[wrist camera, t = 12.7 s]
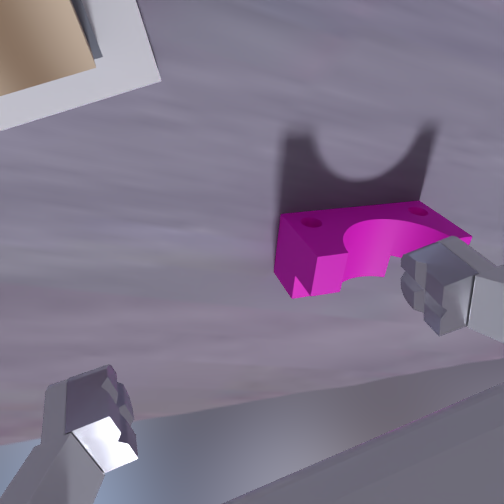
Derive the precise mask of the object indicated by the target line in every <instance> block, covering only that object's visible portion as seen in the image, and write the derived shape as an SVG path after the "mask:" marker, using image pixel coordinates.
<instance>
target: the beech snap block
mask: <svg viewBox="0 0 504 504" xmlns="http://www.w3.org/2000/svg"><path fill="white" fill-rule="evenodd" d="M94 68H96V65H95V61H94V58H93V54H92V51H91V48H90V46H89V43H88V41H87V38H86V36H85V33H84V31H83V28H82V26H81V23H80V21H79V18H78V15H77V13H76V10H75V8H74V5H73V3H72V0H0V96H3V95H6V94H10V93H13V92H16V91H20V90H23V89H26V88H30V87H33V86H36V85H40V84H43V83H47V82H50V81H53V80H57V79H60V78H63V77H67V76H70V75H73V74H77V73H80V72H83V71H87V70H90V69H94Z"/></svg>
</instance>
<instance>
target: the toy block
mask: <svg viewBox="0 0 504 504" xmlns="http://www.w3.org/2000/svg"><path fill="white" fill-rule="evenodd" d="M450 236H456V237H458V238H459V239H461V240H462V241H463V242H465V243H466V244H468V245H469V244H470V241H471V239H472V236H471V235H470V234H468V233H467V232H465V231H464V230H462V229H461V228H459V227H458V226H456V225H455V224H453V223H452V222H450V221H449V220H447V219H446V218H444V217H443V216H441V215H440V214H438V213H437V212H435V211H434V210H432V209H431V208H429V207H428V206H426V205H425V204H423V203H422V202H420V201H410V202H400V203H389V204H379V205H368V206H358V207H347V208H337V209H327V210H316V211H306V212H295V213H285V214H281V216H280V225H279V233H278V241H277V249H276V258H275V266H274V273H275V275H276V276H277V278H278V279H279V281H280V282H281V284H282V285H283V286H284V288H285V289H286V291H287V292H288V294H289V295H290V297H291V298H292V299H293V298H299V297H306V296H316V295H322V294H328V293H334V292H340V289H341V284H342V282H343V281H346V280H348V279H351V278H355V277H361V276H380V277H384V276H385V272H386V269H387V265H388V262H389V258H390V255H391V256H396V257H401V258H402V256H403V254H406V253H408V252H411V251H414V250H416V249H419V248H422V247H424V246H427V245H429V244H432V243H435V242H437V241H440V240H442V239H445V238H447V237H450Z"/></svg>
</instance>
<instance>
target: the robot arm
mask: <svg viewBox="0 0 504 504" xmlns="http://www.w3.org/2000/svg"><path fill="white" fill-rule="evenodd" d="M401 267H402V268H403V269H404V270H405V272H404V274H403V276H402V277H401V289H402V292H403V295H404V298H405V299H406V301H407V302H408V304H409V305H410V306H411V307H412V308H413V309H414V310H417V311H420V312H423V313H424V321H425V322H426V323H427V324H428V325H429V326H430V327H431V328H432V329H433V331H434V332H435V333H436V334H437V335H438V336H442V335H445V334H447V333H450V332H453V331H455V330H458V329H461V328H463V327H466V326H468V327H467V328H470V329H472V330H474V331H477V332H479V333H481V334H483V335H486V336H488V337H490V338H493V339H495V340H497V341H499V342H502V343H504V265H501V266H498V267H497V266H496V265H495V264H493V263H492V262H491V261H489V260H488V259H486V258H485V257H484V256H482V255H481V254H480V253H478V252H477V251H476V250H474V249H473V248H472V247H470V246H469V245H468V244H466V243H465V242H463V241H462V240H461V239H459V238H458V237H456V236H450V237H447V238H445V239H442V240H440V241H437V242H435V243H432V244H429V245H427V246H424V247H422V248H419V249H416V250H414V251H411V252H408V253H406V254H403V256H402V258H401ZM133 420H134V415H133V408H132V405H131V401H130V397H129V395H128V393H127V390H126V389H125V387H124V385H123V384H121V383H118V382H117V375H116V372H115V370H114V369H113V367H112V366H111V365H105V366H102V367H99V368H96V369H94V370H91V371H88V372H85V373H82V374H79V375H76V376H73V377H70V378H69V379H66V380H63V381H60V382H57V383H54V384H51V385H49V386H48V388H47V390H46V392H45V402H44V413H43V424H42V435H41V444H40V445H38V446H35V447H34V448H33V450H32V451H31V453H30V454H29V456H28V457H27V459H26V460H25V462H24V463H23V465H22V466H21V468H20V469H19V471H18V472H17V474H16V475H15V477H14V478H13V480H12V481H11V483H10V484H9V486H8V487H7V489H6V490H5V492H4V493H3V495H2V496H1V498H0V504H93V503H94V500H95V498H96V496H97V493H98V491H99V488H100V486H101V484H102V481H103V479H104V476H105V475H104V473H106V472H108V471H111V470H113V469H115V468H117V467H120V466H122V465H125V464H127V463H129V462H131V461H134V460H136V459H138V453H137V443H136V434H135V433H134V431H133V430H132V428H131V424H132V422H133ZM223 504H504V382H503V383H500V384H498V385H496V386H494V387H491V388H489V389H486V390H484V391H482V392H479V393H478V394H475V395H473V396H470V397H468V398H466V399H463V400H461V401H459V402H457V403H454V404H452V405H449V406H447V407H445V408H443V409H440V410H438V411H436V412H433V413H431V414H429V415H426V416H424V417H422V418H419V419H417V420H415V421H412V422H410V423H408V424H405V425H403V426H401V427H399V428H396V429H394V430H392V431H389V432H387V433H385V434H383V435H380V436H378V437H375V438H373V439H371V440H369V441H366V442H364V443H362V444H360V445H357V446H355V447H352V448H350V449H348V450H345V451H343V452H341V453H338V454H336V455H334V456H332V457H329V458H327V459H325V460H322V461H320V462H318V463H315V464H313V465H311V466H308V467H306V468H304V469H301V470H299V471H297V472H294V473H292V474H290V475H287V476H285V477H283V478H280V479H278V480H276V481H274V482H271V483H269V484H267V485H264V486H262V487H260V488H257V489H255V490H253V491H250V492H248V493H246V494H243V495H241V496H239V497H236V498H234V499H232V500H230V501H227V502H225V503H223Z"/></svg>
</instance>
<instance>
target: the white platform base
mask: <svg viewBox="0 0 504 504" xmlns="http://www.w3.org/2000/svg"><path fill="white" fill-rule="evenodd" d="M72 3H73V5H74V8H75V10H76V13H77V15H78V18H79V21H80V23H81V26H82V28H83V31H84V33H85V36H86V38H87V41H88V43H89V46H90V48H91V51H92V54H93V58H94V61H95V65H96V68H94V69H90V70H87V71H83V72H80V73H77V74H73V75H70V76H67V77H63V78H60V79H57V80H53V81H50V82H47V83H43V84H40V85H36V86H33V87H30V88H26V89H23V90H20V91H16V92H13V93H10V94H6V95H3V96H0V131H2V130H6V129H9V128H12V127H15V126H18V125H22V124H25V123H28V122H31V121H35V120H38V119H41V118H44V117H47V116H51V115H54V114H57V113H60V112H64V111H67V110H70V109H73V108H76V107H80V106H83V105H86V104H89V103H92V102H96V101H99V100H102V99H105V98H109V97H112V96H115V95H118V94H121V93H125V92H128V91H131V90H134V89H138V88H141V87H144V86H147V85H150V84H154V83H157V82H160V81H161V78H160V75H159V71H158V68H157V65H156V62H155V59H154V56H153V53H152V50H151V46H150V43H149V40H148V37H147V34H146V31H145V28H144V25H143V21H142V18H141V15H140V12H139V9H138V6H137V3H136V0H72Z"/></svg>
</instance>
